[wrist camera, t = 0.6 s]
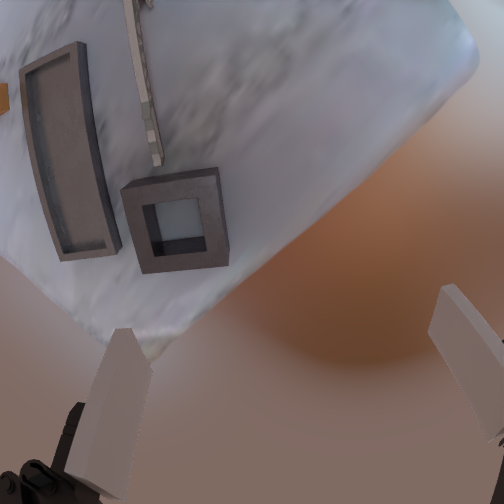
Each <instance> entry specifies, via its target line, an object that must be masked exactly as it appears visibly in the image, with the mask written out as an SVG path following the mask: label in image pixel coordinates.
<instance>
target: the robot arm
mask: <svg viewBox="0 0 504 504" xmlns="http://www.w3.org/2000/svg"><path fill="white" fill-rule="evenodd" d="M428 334H429V336H430V338H431V339H432V341H433V342H434V344H435V346H436V347H437V349H438V351H439V352H440V354H441V355H442V357H443V359H444V360H445V362H446V364H447V366H448V367H449V369H450V371H451V373H452V374H453V376H454V378H455V380H456V381H457V383H458V385H459V387H460V388H461V390H462V392H463V394H464V396H465V398H466V399H467V401H468V403H469V405H470V407H471V409H472V411H473V413H474V415H475V417H476V419H477V421H478V423H479V425H480V427H481V429H482V431H483V433H484V436H485V438H486V440H487V442H488V443H489V442H491V441H492V440H494V439H496V438H497V437H499V436H500V435H502V434H503V433H504V340H502V341H501V340H500V339H499V337H498V336H497V335H496V333H495V332H494V331H493V330H492V328H491V327H490V326H489V324H488V323H487V322H486V321H485V319H484V318H483V317H482V316H481V315H480V313H479V312H478V311H477V310H476V309H475V307H474V306H473V305H472V304H471V303H470V301H469V300H468V299H467V298H466V297H465V296H464V295H463V293H462V292H461V291H460V290H459V289H458V288H457V287H456V285H455V284H450V285H446V286H442V287H441V289H440V293H439V296H438V300H437V303H436V307H435V311H434V314H433V317H432V320H431V323H430V326H429V330H428ZM152 372H153V371H152V369H151V367H150V365H149V363H148V361H147V359H146V357H145V355H144V353H143V351H142V349H141V348H140V345H139V343H138V341H137V339H136V337H135V335H134V333H133V331H132V329H131V328H123V329H115V331H114V333H113V335H112V338H111V340H110V342H109V345H108V347H107V350H106V352H105V354H104V357H103V359H102V362H101V364H100V367H99V369H98V372H97V375H96V377H95V379H94V382H93V385H92V387H91V390H90V393H89V395H88V398H87V401H86V403H81V402H77V403H76V405H75V406H74V407H73V408H72V410H71V411H70V412H69V415H68V418H67V420H66V426H64V429H63V434H62V435H61V438H60V441H59V444H58V447H57V450H56V453H55V456H54V459H53V463H52V465H51V468H49V467H48V466H46V465H45V464H43V463H42V462H41V461H40V460H35V459H33V460H29V461H27V462H26V463H25V464H24V465H23V466H22V468H21V470H20V475H19V476H20V477H19V476H18V475H16V474H14V473H13V472H12V471H6V472H4V473H2V474H1V476H0V504H102V503H101V501H100V500H99V496H100V495H102V496H104V497H106V498H107V499H111V500H116V501H121V502H126V500H127V493H128V487H129V481H130V475H131V470H132V464H133V459H134V454H135V448H136V443H137V438H138V433H139V429H140V424H141V419H142V414H143V410H144V406H145V401H146V397H147V393H148V388H149V384H150V380H151V376H152ZM503 443H504V438H503V439H502V440H501V441H500V443H499V446H501V445H502V444H503ZM503 447H504V446H503ZM490 504H504V456H503V461H502V465H501V469H500V473H499V477H498V480H497V484H496V487H495V490H494V494H493V497H492V500H491V503H490Z"/></svg>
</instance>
